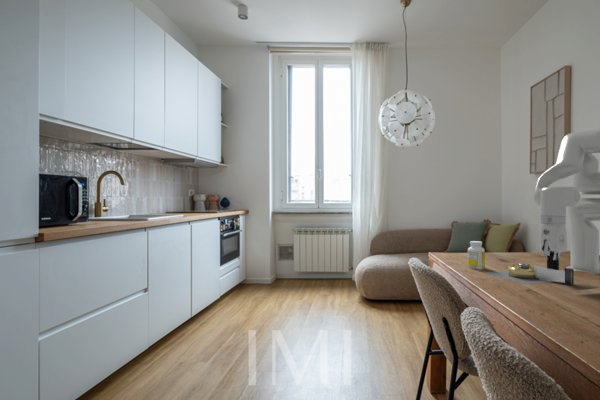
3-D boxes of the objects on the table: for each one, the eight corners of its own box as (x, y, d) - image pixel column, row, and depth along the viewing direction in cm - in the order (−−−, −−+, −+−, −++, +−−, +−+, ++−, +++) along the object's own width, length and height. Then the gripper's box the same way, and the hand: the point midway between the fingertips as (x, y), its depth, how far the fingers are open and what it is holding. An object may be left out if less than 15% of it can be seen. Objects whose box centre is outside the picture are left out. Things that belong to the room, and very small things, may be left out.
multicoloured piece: (503, 274, 137) (503, 261, 137) (516, 272, 142) (516, 259, 142) (566, 286, 119) (566, 270, 119) (579, 282, 124) (580, 267, 124)
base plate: (521, 273, 147) (522, 269, 147) (569, 284, 128) (569, 280, 128) (482, 276, 142) (482, 272, 142) (525, 288, 123) (525, 283, 123)
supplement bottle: (481, 269, 155) (481, 240, 155) (487, 273, 149) (487, 242, 149) (465, 269, 156) (465, 240, 156) (471, 272, 149) (471, 242, 149)
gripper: (554, 222, 122) (554, 274, 122) (574, 220, 129) (574, 270, 129) (531, 220, 128) (531, 271, 128) (551, 219, 136) (551, 266, 136)
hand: (552, 270), depth 129 cm, fingers closed
